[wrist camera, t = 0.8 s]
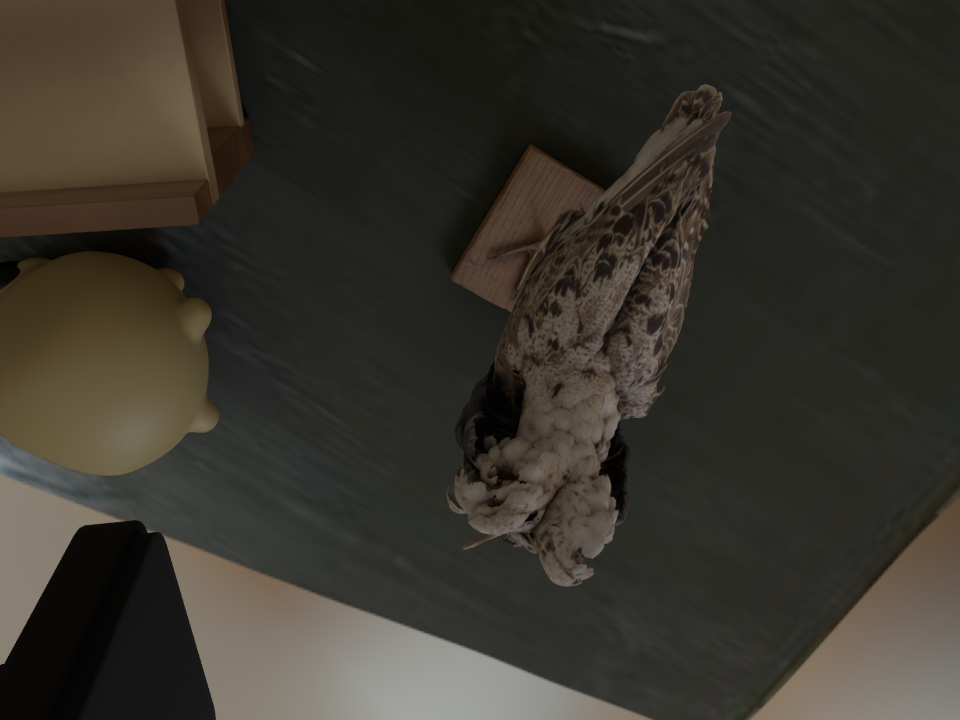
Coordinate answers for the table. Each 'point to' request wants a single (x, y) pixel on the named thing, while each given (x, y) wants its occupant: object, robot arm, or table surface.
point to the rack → (116, 114)
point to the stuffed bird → (579, 335)
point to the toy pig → (100, 361)
